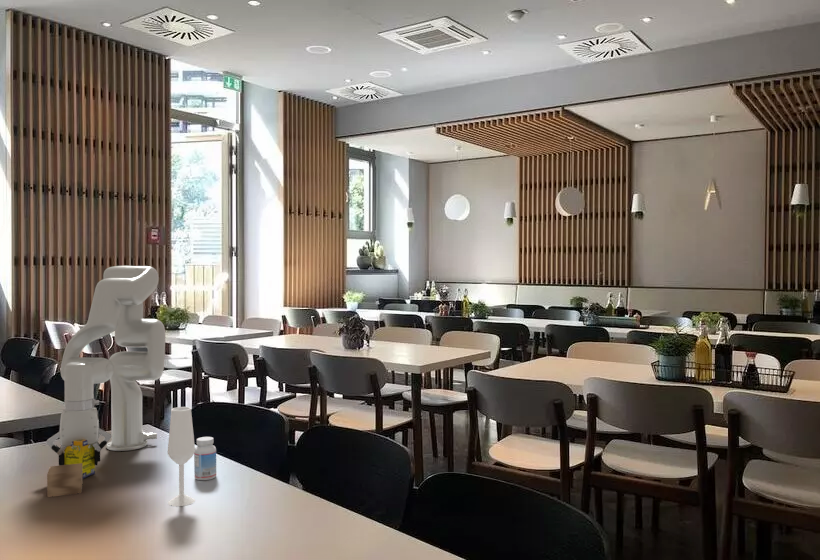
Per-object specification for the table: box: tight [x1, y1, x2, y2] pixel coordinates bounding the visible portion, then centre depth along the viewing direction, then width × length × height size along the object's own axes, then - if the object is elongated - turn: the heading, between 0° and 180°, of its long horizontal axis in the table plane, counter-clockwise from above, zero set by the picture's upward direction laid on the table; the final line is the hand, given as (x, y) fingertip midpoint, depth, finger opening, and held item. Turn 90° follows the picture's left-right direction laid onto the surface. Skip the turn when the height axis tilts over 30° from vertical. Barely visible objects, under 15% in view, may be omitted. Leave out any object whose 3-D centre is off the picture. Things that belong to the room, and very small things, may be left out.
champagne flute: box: [167, 406, 196, 507], centre depth 177 cm, size 7×7×24 cm
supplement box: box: [64, 440, 96, 480], centre depth 197 cm, size 6×6×11 cm
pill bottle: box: [193, 436, 217, 481], centre depth 197 cm, size 6×6×11 cm
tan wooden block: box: [46, 463, 84, 498], centre depth 185 cm, size 8×8×6 cm
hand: (79, 465), depth 197 cm, fingers closed on supplement box, 8 cm apart
